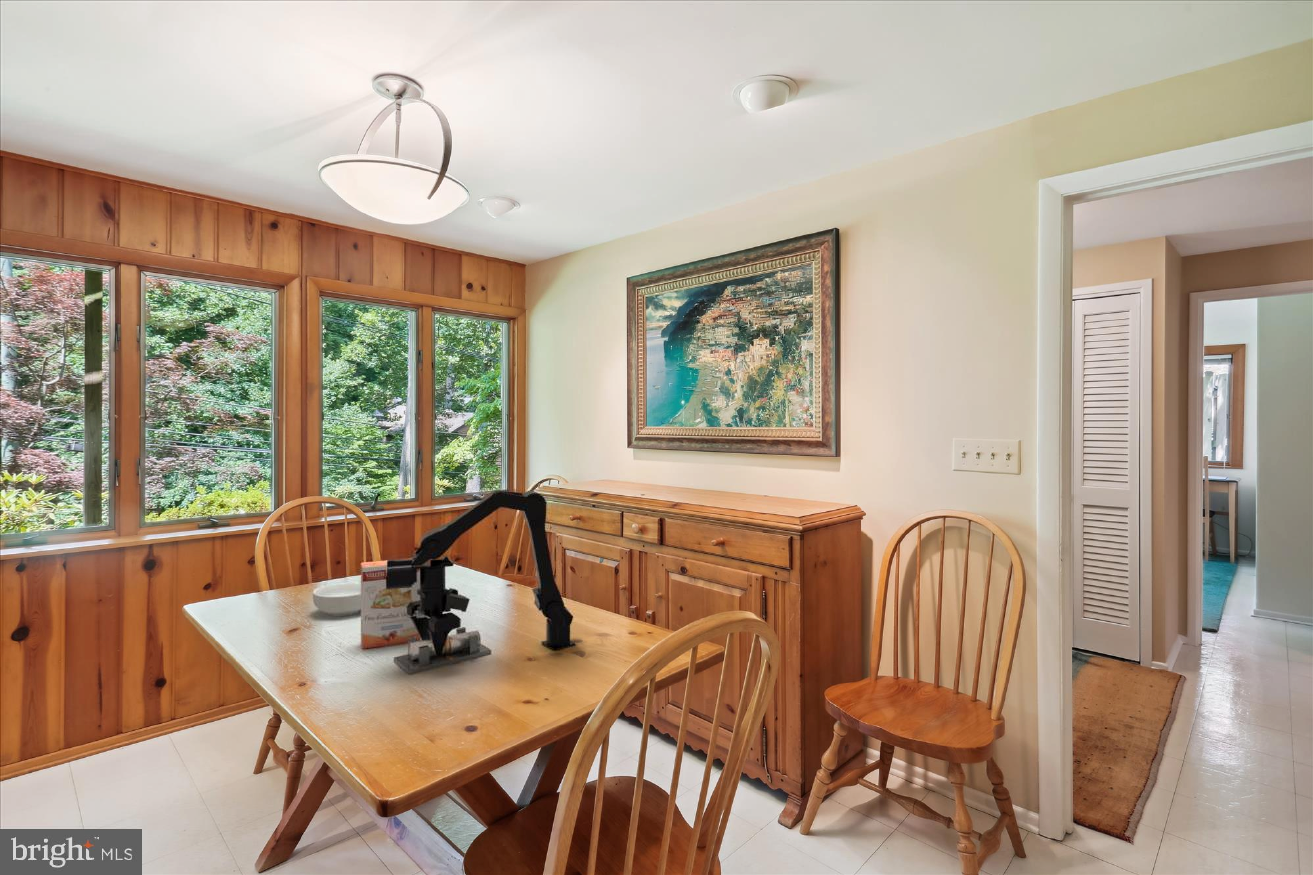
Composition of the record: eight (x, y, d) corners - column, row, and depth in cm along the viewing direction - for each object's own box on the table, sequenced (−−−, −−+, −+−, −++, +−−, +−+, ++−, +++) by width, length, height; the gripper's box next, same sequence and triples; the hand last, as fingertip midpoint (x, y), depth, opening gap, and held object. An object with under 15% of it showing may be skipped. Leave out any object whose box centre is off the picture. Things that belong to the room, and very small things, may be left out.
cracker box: (362, 650, 159) (361, 566, 159) (360, 642, 165) (359, 561, 164) (421, 641, 166) (421, 560, 165) (418, 634, 171) (417, 556, 171)
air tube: (476, 647, 160) (474, 630, 161) (481, 646, 157) (479, 629, 158) (409, 660, 151) (408, 642, 152) (413, 660, 148) (412, 642, 149)
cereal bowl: (358, 621, 182) (358, 596, 182) (300, 620, 182) (300, 596, 182) (385, 604, 199) (385, 581, 199) (332, 603, 199) (332, 580, 199)
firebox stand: (491, 653, 157) (491, 633, 157) (408, 674, 144) (408, 652, 144) (473, 642, 165) (473, 623, 165) (393, 661, 152) (393, 640, 152)
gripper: (481, 587, 151) (482, 653, 151) (449, 572, 165) (450, 633, 165) (435, 596, 143) (435, 665, 144) (405, 579, 158) (406, 642, 158)
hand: (433, 650), depth 153 cm, fingers open, 7 cm apart
